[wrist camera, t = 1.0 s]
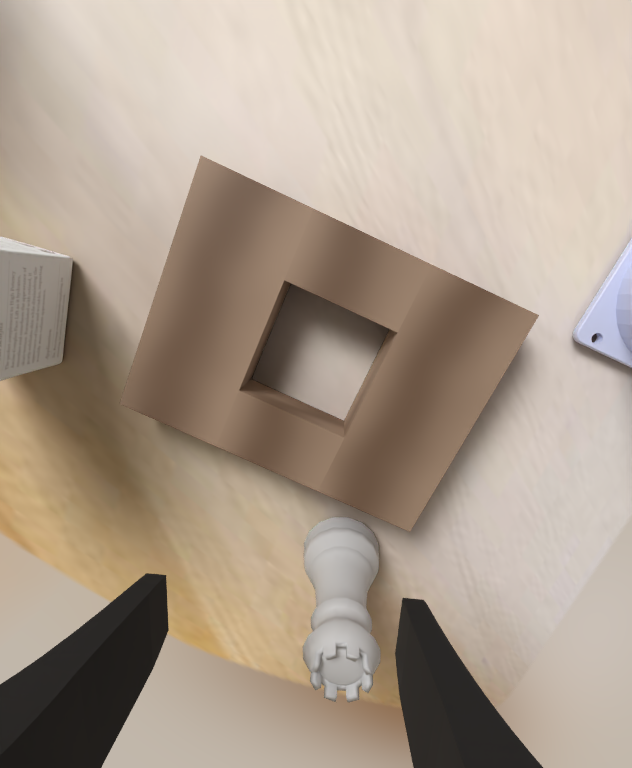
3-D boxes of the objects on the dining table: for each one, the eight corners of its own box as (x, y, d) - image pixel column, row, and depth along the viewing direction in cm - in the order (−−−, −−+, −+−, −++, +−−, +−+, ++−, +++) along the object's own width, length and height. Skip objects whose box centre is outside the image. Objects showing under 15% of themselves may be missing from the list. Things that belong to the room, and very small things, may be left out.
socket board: (512, 312, 19) (538, 315, 16) (401, 505, 21) (409, 531, 19) (219, 174, 18) (200, 155, 16) (145, 391, 21) (119, 403, 18)
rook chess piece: (393, 537, 22) (422, 669, 14) (351, 589, 23) (356, 738, 15) (330, 498, 22) (324, 611, 14) (290, 552, 23) (264, 686, 15)
